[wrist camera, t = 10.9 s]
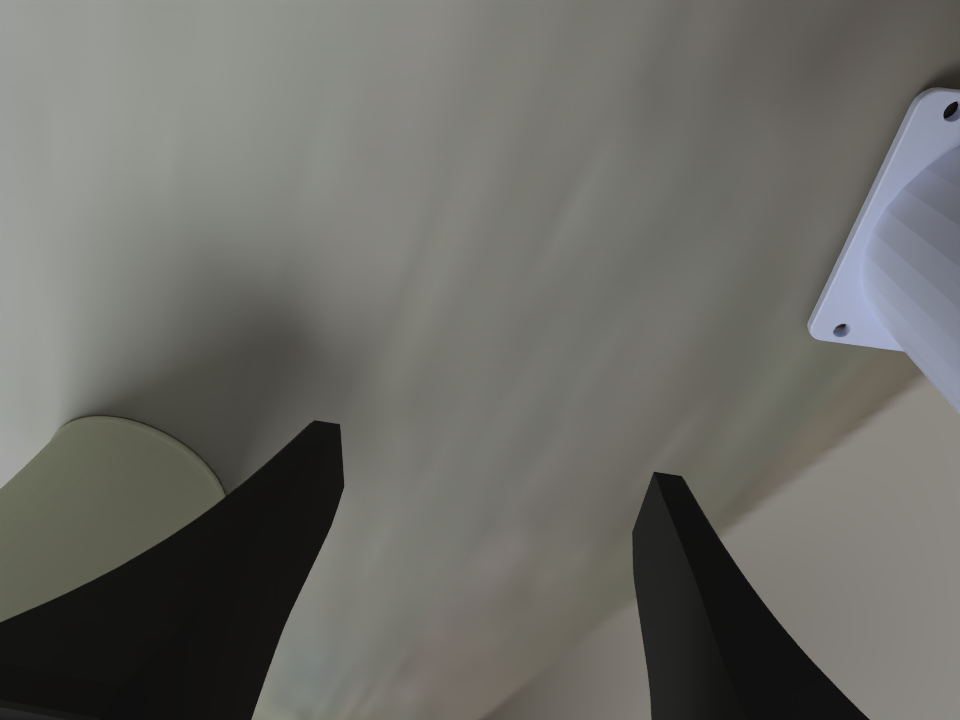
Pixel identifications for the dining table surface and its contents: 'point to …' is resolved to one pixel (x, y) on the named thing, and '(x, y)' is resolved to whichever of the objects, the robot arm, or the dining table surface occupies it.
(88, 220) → the dining table surface
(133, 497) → the can
